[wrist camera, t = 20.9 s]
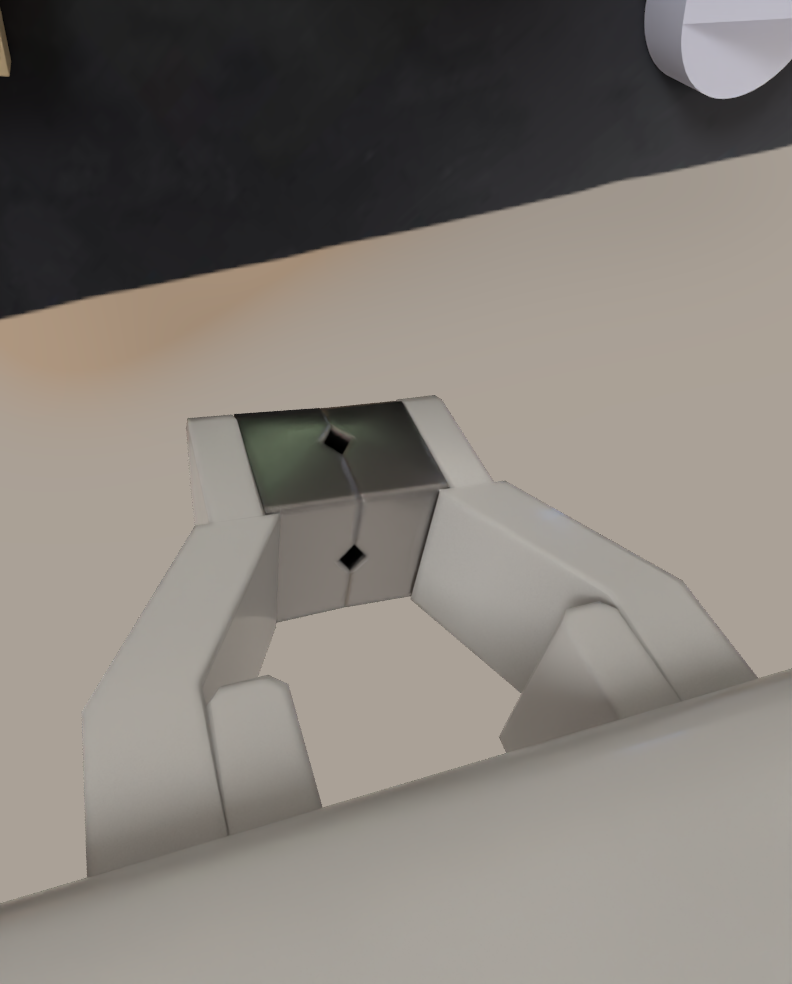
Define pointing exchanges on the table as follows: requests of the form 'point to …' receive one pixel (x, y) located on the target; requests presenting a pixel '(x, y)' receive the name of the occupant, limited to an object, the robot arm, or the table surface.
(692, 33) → the wedge on round base
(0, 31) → the switch base
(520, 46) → the table surface
